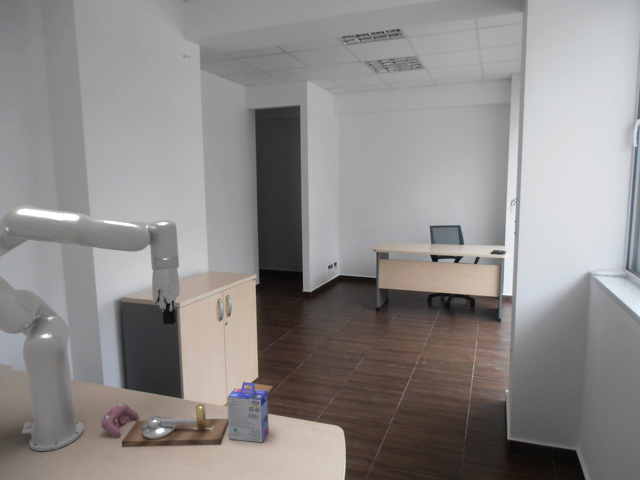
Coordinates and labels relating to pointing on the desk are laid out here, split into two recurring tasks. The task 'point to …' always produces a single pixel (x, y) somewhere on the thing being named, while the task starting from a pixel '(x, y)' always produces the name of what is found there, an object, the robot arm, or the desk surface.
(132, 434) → the stand plate
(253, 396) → the ink cartridge box
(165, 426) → the silver lever with knob
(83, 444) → the desk surface
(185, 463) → the desk surface
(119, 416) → the video game controller
